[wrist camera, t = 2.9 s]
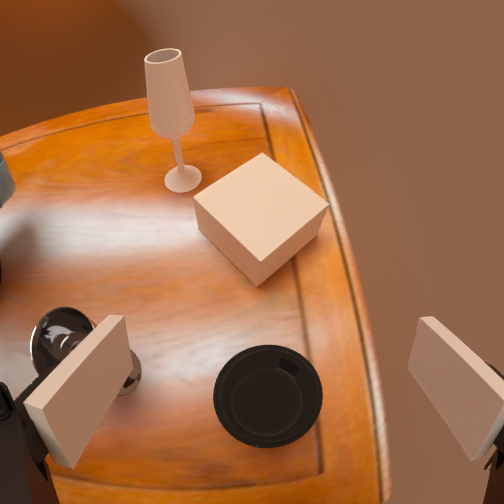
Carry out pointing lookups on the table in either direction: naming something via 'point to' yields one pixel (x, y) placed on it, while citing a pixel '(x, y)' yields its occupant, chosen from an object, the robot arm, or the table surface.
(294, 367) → the coffee cup
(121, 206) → the table surface
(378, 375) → the table surface
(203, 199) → the riser
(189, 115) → the champagne flute
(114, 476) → the table surface
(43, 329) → the wine glass
